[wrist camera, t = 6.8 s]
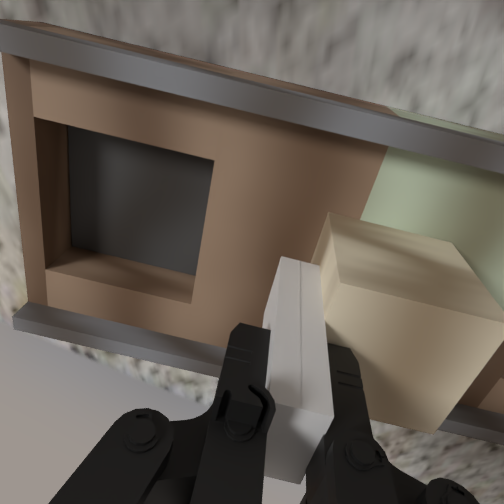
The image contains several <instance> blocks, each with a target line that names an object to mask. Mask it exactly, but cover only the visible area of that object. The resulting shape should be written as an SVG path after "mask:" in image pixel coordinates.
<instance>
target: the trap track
mask: <svg viewBox="0 0 504 504" xmlns="http://www.w3.org/2000/svg"><path fill="white" fill-rule="evenodd" d="M0 52H1V53H2V62H3V71H4V81H5V90H6V99H7V109H8V118H9V127H10V137H11V146H12V155H13V164H14V174H15V183H16V192H17V202H18V211H19V220H20V229H21V239H22V248H23V257H24V267H25V276H26V285H27V294H28V302H27V303H26V304H25V305H24V306H23V307H22V308H21V309H20V310H19V311H18V312H17V313H16V314H14V315H13V316H12V318H13V325H14V329H15V330H19V331H23V332H28V333H32V334H36V335H40V336H44V337H49V338H53V339H57V340H61V341H66V342H70V343H74V344H78V345H82V346H87V347H91V348H95V349H99V350H104V351H108V352H112V353H116V354H120V355H125V356H129V357H133V358H137V359H142V360H146V361H150V362H154V363H159V364H163V365H167V366H171V367H175V368H180V369H184V370H188V371H192V372H197V373H201V374H205V375H209V376H213V377H218V378H219V377H220V373H221V368H222V364H223V360H224V356H225V352H226V348H227V344H228V341H229V337H230V333H231V331H232V330H233V329H234V328H235V327H236V326H237V325H238V324H239V323H244V324H248V325H252V326H256V327H261V328H262V326H263V318H264V312H265V308H266V305H267V302H268V298H269V295H270V292H271V288H272V285H273V282H274V278H275V275H276V272H277V268H278V265H279V262H280V258H281V256H283V257H287V258H291V259H295V260H299V261H303V262H307V263H311V260H312V257H313V254H314V252H315V249H316V246H317V243H318V240H319V237H320V234H321V232H322V229H323V226H324V223H325V220H326V217H327V214H328V212H330V213H334V214H338V215H342V216H346V217H350V218H354V219H358V220H362V221H366V222H370V223H374V224H378V225H383V226H387V227H391V228H395V229H399V230H403V231H407V232H411V233H415V234H419V235H423V236H427V237H431V238H435V239H439V240H443V241H447V242H451V243H452V244H453V245H454V246H455V248H456V249H457V250H458V252H459V253H460V254H461V256H462V257H463V258H464V260H465V261H466V262H467V263H468V265H469V266H470V267H471V269H472V270H473V271H474V273H475V274H476V275H477V277H478V278H479V279H480V281H481V282H482V283H483V285H484V286H485V287H486V289H487V290H488V291H489V293H490V294H491V295H492V297H493V298H494V299H495V301H496V302H497V303H498V304H499V306H500V307H501V308H502V310H503V311H504V135H502V134H498V133H494V132H490V131H486V130H482V129H478V128H473V127H469V126H465V125H461V124H457V123H453V122H449V121H445V120H441V119H437V118H432V117H428V116H424V115H420V114H416V113H412V112H408V111H404V110H400V109H396V108H391V107H387V106H383V105H379V104H375V103H371V102H367V101H363V100H359V99H355V98H350V97H346V96H342V95H338V94H334V93H330V92H326V91H322V90H318V89H314V88H309V87H305V86H301V85H297V84H293V83H289V82H285V81H281V80H277V79H273V78H268V77H264V76H260V75H256V74H252V73H248V72H244V71H240V70H236V69H232V68H227V67H223V66H219V65H215V64H211V63H207V62H203V61H199V60H195V59H191V58H186V57H182V56H178V55H174V54H170V53H166V52H162V51H158V50H154V49H150V48H145V47H141V46H137V45H133V44H129V43H125V42H121V41H117V40H113V39H109V38H104V37H100V36H96V35H92V34H88V33H84V32H80V31H76V30H72V29H68V28H63V27H59V26H55V25H51V24H47V23H43V22H33V21H20V20H7V19H0ZM437 430H442V431H446V432H450V433H454V434H458V435H463V436H467V437H471V438H475V439H480V440H484V441H488V442H492V443H496V444H501V445H504V341H503V342H502V343H501V345H500V346H499V347H498V349H497V350H496V351H495V353H494V354H493V355H492V357H491V358H490V359H489V361H488V362H487V363H486V365H485V366H484V367H483V369H482V370H481V371H480V373H479V374H478V376H477V377H476V378H475V380H474V381H473V382H472V384H471V385H470V386H469V388H468V389H467V390H466V392H465V393H464V394H463V396H462V397H461V398H460V400H459V401H458V402H457V404H456V405H455V406H454V408H453V409H452V410H451V412H450V413H449V414H448V416H447V417H446V418H445V420H444V421H443V423H442V424H441V425H440V427H439V428H438V429H437Z"/></svg>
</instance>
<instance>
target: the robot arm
mask: <svg viewBox="0 0 504 504" xmlns="http://www.w3.org/2000/svg"><path fill="white" fill-rule="evenodd" d="M305 474H306V493H305V495H304V497H303V499H302V501H301V503H300V504H479V503H478V501H477V500H476V499H475V497H474V496H473V495H472V494H471V493H470V492H468V491H467V490H466V489H465V488H464V487H463V486H461V485H459V484H457V483H456V482H454V481H452V480H449V479H444V478H437V479H434V480H431V481H430V482H429V484H428V485H425V484H424V483H422V482H420V481H418V480H416V479H415V478H413V477H411V476H409V475H407V474H406V473H404V472H402V471H401V470H399V469H398V468H396V467H395V466H393V465H392V464H391V463H390V462H389V461H388V459H387V456H386V454H385V451H384V450H383V449H382V448H381V446H380V445H379V444H378V442H377V441H375V440H374V438H373V435H372V430H371V425H370V420H369V414H368V409H367V404H366V398H365V393H364V391H363V383H362V379H361V372H360V367H359V362H358V360H357V359H356V357H355V356H354V354H353V352H352V351H351V349H350V348H347V347H343V346H339V345H335V344H330V343H327V337H326V326H325V320H324V309H323V298H322V287H321V276H320V266H319V265H315V264H311V263H307V262H303V261H299V260H295V259H291V258H287V257H283V256H281V258H280V262H279V265H278V268H277V272H276V275H275V278H274V282H273V285H272V288H271V292H270V295H269V298H268V302H267V305H266V308H265V312H264V318H263V326H262V328H261V327H256V326H252V325H248V324H244V323H239V324H238V325H237V326H236V327H235V328H234V329H233V330H232V331H231V333H230V337H229V341H228V344H227V348H226V352H225V356H224V360H223V364H222V368H221V373H220V377H219V381H218V385H217V389H216V394H215V398H214V402H213V404H212V406H211V407H210V408H209V409H208V411H207V412H205V413H204V414H202V415H201V416H198V417H196V418H194V419H189V420H181V421H169V419H168V418H167V417H166V416H164V415H163V414H162V413H160V412H159V411H156V410H152V409H149V408H146V409H145V408H144V409H135V410H132V411H130V412H127V413H125V414H123V415H122V416H121V417H120V418H119V419H118V420H116V421H115V422H114V424H113V425H112V426H111V427H110V429H109V430H108V431H107V432H106V433H105V435H104V436H103V437H102V438H101V440H100V441H99V442H98V443H97V444H96V446H95V447H94V448H93V449H92V451H91V452H90V453H89V454H88V456H87V457H86V458H85V459H84V461H83V462H82V463H81V464H80V465H79V467H78V468H77V469H76V470H75V472H74V473H73V474H72V475H71V477H70V478H69V479H68V480H67V481H66V483H65V484H64V485H63V486H62V488H61V489H60V490H59V491H58V492H57V494H56V495H55V496H54V497H53V499H52V500H51V501H50V502H49V504H262V492H263V480H264V476H267V477H271V478H275V479H279V480H283V481H288V482H292V483H296V484H301V481H302V480H303V477H304V476H305Z"/></svg>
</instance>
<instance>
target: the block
mask: <svg viewBox="0 0 504 504" xmlns="http://www.w3.org/2000/svg"><path fill="white" fill-rule="evenodd" d="M311 264H315V265H319V266H320V276H321V287H322V298H323V309H324V320H325V326H326V337H327V343H330V344H335V345H339V346H343V347H347V348H350V349H351V351H352V352H353V354H354V356H355V357H356V359H357V360H358V362H359V367H360V372H361V379H362V383H363V391H364V393H365V398H366V404H367V409H368V414H369V419H371V420H376V421H380V422H384V423H388V424H392V425H396V426H400V427H404V428H408V429H413V430H417V431H421V432H425V433H429V434H433V435H434V433H435V432H436V431H437V429H438V428H439V427H440V425H441V424H442V423H443V421H444V420H445V418H446V417H447V416H448V414H449V413H450V412H451V410H452V409H453V408H454V406H455V405H456V404H457V402H458V401H459V400H460V398H461V397H462V396H463V394H464V393H465V392H466V390H467V389H468V388H469V386H470V385H471V384H472V382H473V381H474V380H475V378H476V377H477V376H478V374H479V373H480V371H481V370H482V369H483V367H484V366H485V365H486V363H487V362H488V361H489V359H490V358H491V357H492V355H493V354H494V353H495V351H496V350H497V349H498V347H499V346H500V345H501V343H502V342H503V341H504V311H503V310H502V308H501V307H500V306H499V304H498V303H497V302H496V301H495V299H494V298H493V297H492V295H491V294H490V293H489V291H488V290H487V289H486V287H485V286H484V285H483V283H482V282H481V281H480V279H479V278H478V277H477V275H476V274H475V273H474V271H473V270H472V269H471V267H470V266H469V265H468V263H467V262H466V261H465V260H464V258H463V257H462V256H461V254H460V253H459V252H458V250H457V249H456V248H455V246H454V245H453V244H452V243H451V242H447V241H443V240H439V239H435V238H431V237H427V236H423V235H419V234H415V233H411V232H407V231H403V230H399V229H395V228H391V227H387V226H383V225H378V224H374V223H370V222H366V221H362V220H358V219H354V218H350V217H346V216H342V215H338V214H334V213H330V212H328V214H327V217H326V220H325V223H324V226H323V229H322V232H321V234H320V237H319V240H318V243H317V246H316V249H315V252H314V254H313V257H312V260H311Z"/></svg>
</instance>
